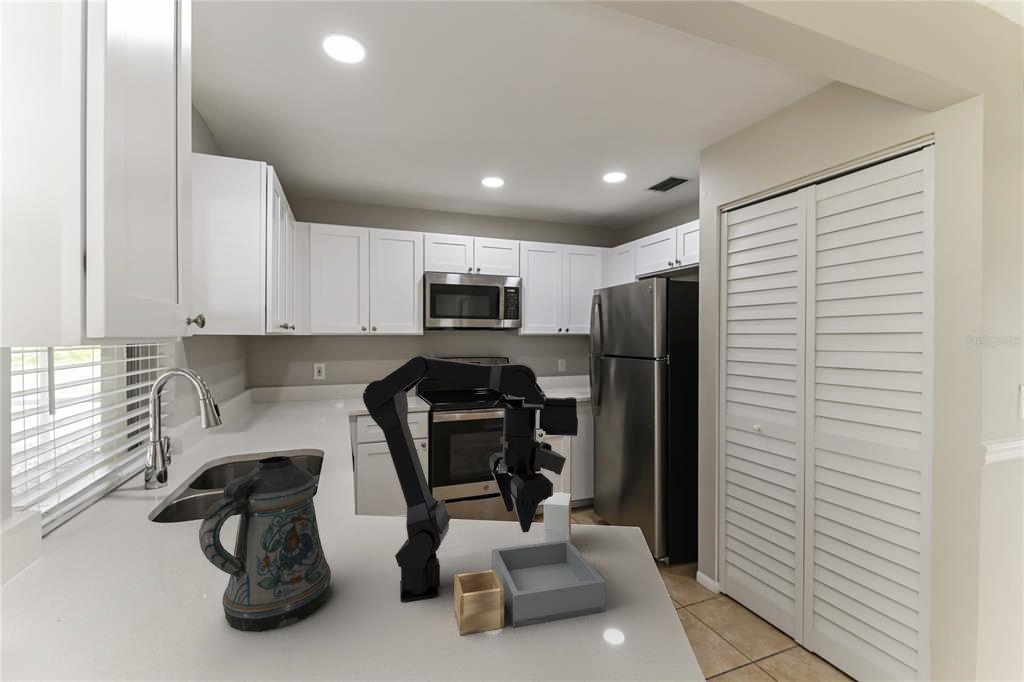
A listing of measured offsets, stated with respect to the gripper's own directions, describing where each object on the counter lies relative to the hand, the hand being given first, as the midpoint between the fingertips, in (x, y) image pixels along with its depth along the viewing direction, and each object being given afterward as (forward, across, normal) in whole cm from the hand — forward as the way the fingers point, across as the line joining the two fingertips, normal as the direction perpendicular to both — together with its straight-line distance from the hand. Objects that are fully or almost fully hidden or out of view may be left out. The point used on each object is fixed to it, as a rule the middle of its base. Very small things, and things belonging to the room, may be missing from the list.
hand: (517, 521), depth 77 cm
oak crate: (+13, -5, +8) cm, 16 cm away
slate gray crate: (+13, -1, -5) cm, 14 cm away
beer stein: (+14, +9, +40) cm, 44 cm away
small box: (+13, +16, -15) cm, 25 cm away
